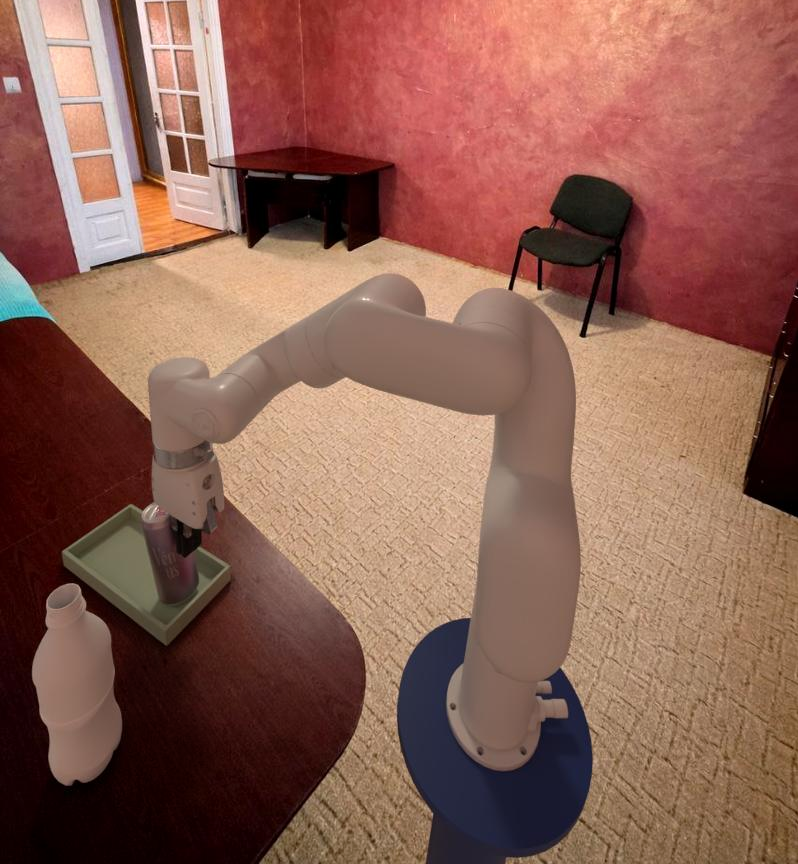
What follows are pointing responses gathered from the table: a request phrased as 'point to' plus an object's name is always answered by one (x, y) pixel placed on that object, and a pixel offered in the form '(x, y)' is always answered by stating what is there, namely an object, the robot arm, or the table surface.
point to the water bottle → (76, 688)
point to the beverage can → (168, 558)
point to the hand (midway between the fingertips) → (189, 548)
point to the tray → (139, 574)
